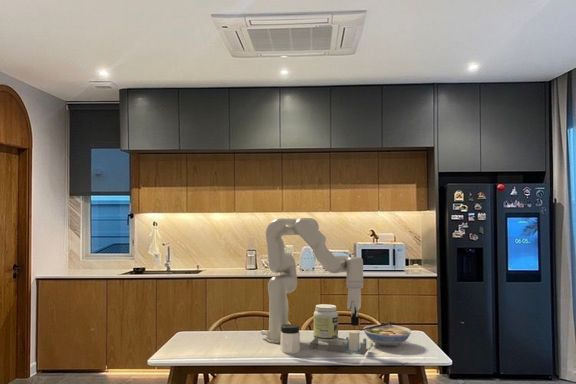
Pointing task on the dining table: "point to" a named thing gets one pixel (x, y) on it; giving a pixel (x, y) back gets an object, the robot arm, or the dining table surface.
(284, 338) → the jar
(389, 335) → the ramen bowl
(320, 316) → the supplement tub
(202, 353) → the dining table surface
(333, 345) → the grey tiered shelf stand
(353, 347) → the plug
